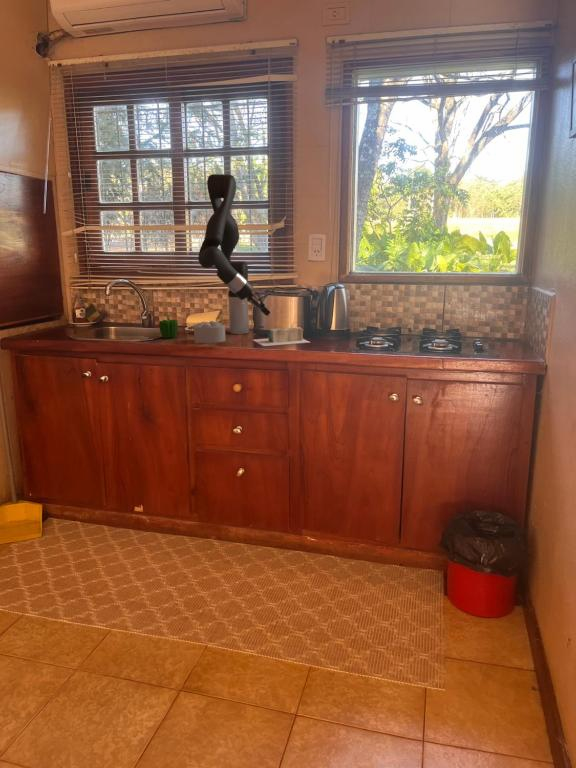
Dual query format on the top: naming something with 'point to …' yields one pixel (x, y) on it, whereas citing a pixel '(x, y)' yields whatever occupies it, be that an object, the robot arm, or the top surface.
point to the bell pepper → (168, 328)
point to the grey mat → (268, 343)
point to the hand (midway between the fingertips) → (268, 314)
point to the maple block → (285, 334)
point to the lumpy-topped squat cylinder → (209, 332)
